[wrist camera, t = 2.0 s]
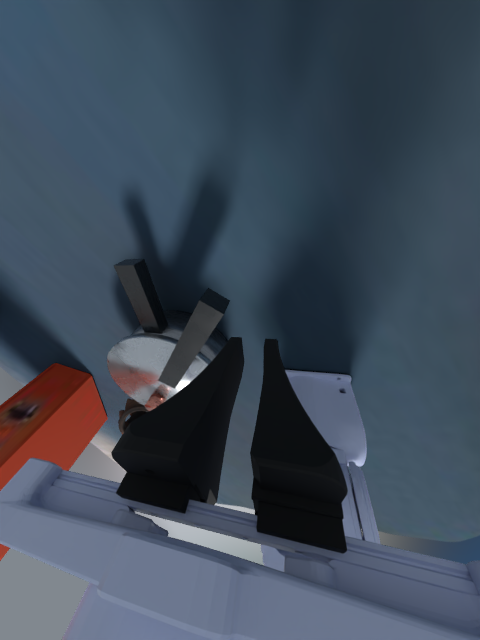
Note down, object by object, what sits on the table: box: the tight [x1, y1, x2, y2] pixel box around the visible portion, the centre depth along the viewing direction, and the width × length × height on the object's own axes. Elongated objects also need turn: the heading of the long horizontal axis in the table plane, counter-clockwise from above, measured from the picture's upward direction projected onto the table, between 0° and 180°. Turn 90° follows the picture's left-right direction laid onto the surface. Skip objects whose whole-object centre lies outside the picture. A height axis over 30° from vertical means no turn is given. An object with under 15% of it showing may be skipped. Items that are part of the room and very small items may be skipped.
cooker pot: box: [114, 259, 227, 361], centre depth 26 cm, size 24×14×5 cm, turn 5°
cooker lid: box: [107, 288, 230, 411], centre depth 22 cm, size 22×15×2 cm, turn 150°
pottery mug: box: [118, 399, 149, 435], centre depth 38 cm, size 12×9×8 cm
